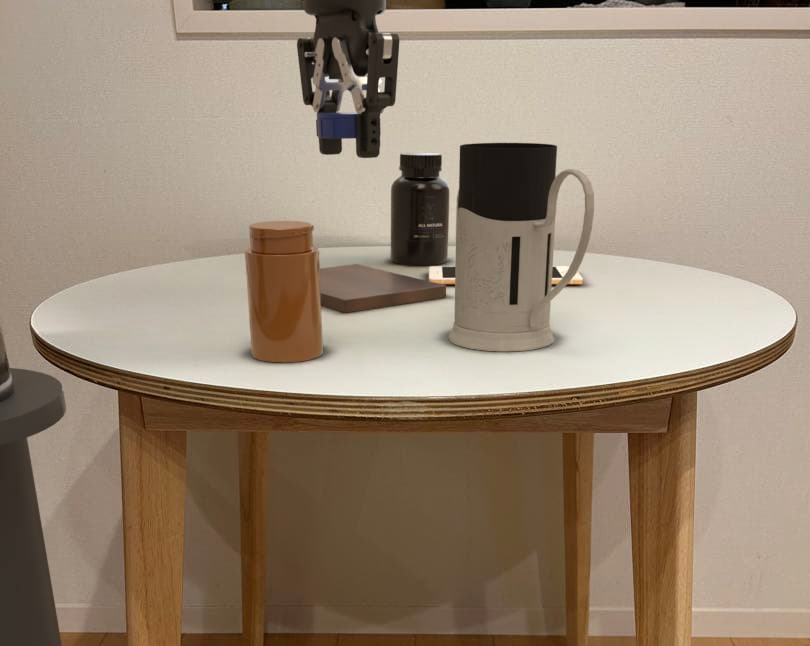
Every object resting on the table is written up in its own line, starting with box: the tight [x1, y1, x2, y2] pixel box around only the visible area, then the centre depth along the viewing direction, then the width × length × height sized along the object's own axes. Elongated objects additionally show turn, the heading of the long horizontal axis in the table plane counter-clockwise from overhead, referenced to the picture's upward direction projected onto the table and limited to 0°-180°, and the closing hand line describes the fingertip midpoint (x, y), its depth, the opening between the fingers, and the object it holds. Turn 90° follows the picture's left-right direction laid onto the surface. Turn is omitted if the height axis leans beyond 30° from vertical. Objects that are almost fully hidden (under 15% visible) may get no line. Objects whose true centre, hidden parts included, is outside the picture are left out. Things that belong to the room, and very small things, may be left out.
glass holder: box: [448, 142, 595, 352], centre depth 79 cm, size 9×14×15 cm, turn 33°
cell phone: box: [428, 265, 584, 285], centre depth 109 cm, size 8×16×1 cm, turn 89°
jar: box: [244, 220, 324, 363], centre depth 78 cm, size 6×6×10 cm
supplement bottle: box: [390, 152, 451, 266], centre depth 117 cm, size 7×7×12 cm
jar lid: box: [315, 111, 382, 140], centre depth 96 cm, size 6×6×2 cm
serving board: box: [320, 263, 447, 314], centre depth 102 cm, size 12×16×1 cm
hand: (348, 155), depth 97 cm, fingers closed on jar lid, 6 cm apart
